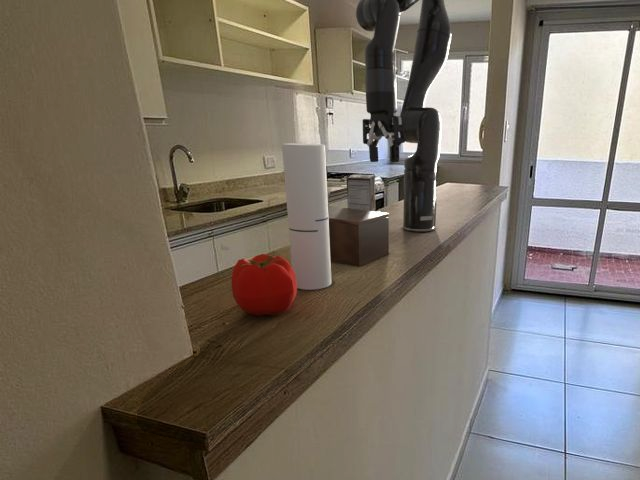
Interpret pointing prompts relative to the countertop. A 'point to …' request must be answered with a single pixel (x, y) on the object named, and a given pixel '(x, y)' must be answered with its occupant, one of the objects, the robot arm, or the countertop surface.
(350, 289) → the countertop surface
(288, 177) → the cylindrical container
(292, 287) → the tomato
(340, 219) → the lid
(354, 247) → the chest
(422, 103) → the robot arm
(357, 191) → the coffee box
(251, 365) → the countertop surface
